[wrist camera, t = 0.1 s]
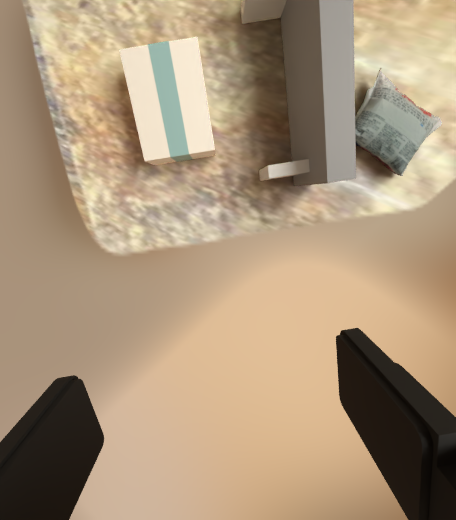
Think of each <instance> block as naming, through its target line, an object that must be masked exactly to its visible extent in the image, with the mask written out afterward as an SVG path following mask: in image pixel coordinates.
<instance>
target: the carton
mask: <svg viewBox="0 0 456 520" xmlns="http://www.w3.org/2000/svg"><path fill="white" fill-rule="evenodd" d="M119 51H120V56H121V60H122V64H123V69H124V73H125V77H126V82H127V86H128V91H129V95H130V99H131V104H132V108H133V113H134V117H135V121H136V126H137V130H138V134H139V139H140V143H141V148H142V152H143V156H144V161H145V162H148V163H150V164H152V165H160V164H166V163H172V162H179V161H185V160H192V159H197V158H203V157H209V156H215V147H214V141H213V134H212V128H211V121H210V115H209V109H208V102H207V96H206V89H205V83H204V76H203V70H202V64H201V57H200V51H199V44H198V38H197V37H192V38H186V39H180V40H174V41H166V42H160V43H154V44H148V45H143V46H137V47H131V48H125V49H119Z"/></svg>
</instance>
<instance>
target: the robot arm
mask: <svg viewBox="0 0 456 520" xmlns="http://www.w3.org/2000/svg"><path fill="white" fill-rule="evenodd" d="M336 346H337V364H338V379H339V380H338V381H339V396H340V401H341V403H342V406H343V408H344V410H345V411H346V413H347V415H348V416H349V418H350V420H351V422H352V423H353V425H354V426H355V428H356V430H357V432H358V434H359V435H360V437H361V439H362V440H363V442H364V444H365V446H366V447H367V449H368V451H369V453H370V454H371V456H372V458H373V460H374V461H375V463H376V465H377V466H378V468H379V470H380V471H381V473H382V475H383V476H384V479H385V480H386V482H387V483H388V485H389V487H390V489H391V490H392V492H393V494H394V496H395V497H396V499H397V501H398V503H399V504H400V506H401V507H402V510H403V511H404V513H405V515H406V516H407V518H408V520H456V417H454V415H453V414H451V413H450V412H449V411H448V410H447V409H446V408H445V407H444V406H443V405H442V404H441V403H440V402H439V401H438V400H437V399H436V398H435V397H434V396H432V395H431V394H430V393H429V392H428V391H427V390H426V389H425V388H424V387H423V386H422V385H421V384H420V383H419V382H418V381H416V379H415V378H413V376H411V375H410V374H409V373H408V372H407V371H406V370H405V369H404V368H403V367H402V366H400V365H399V364H397V363H394V362H393V361H392V360H391V359H390V358H389V357H388V356H387V355H386V354H385V353H384V352H383V351H382V350H381V349H380V348H379V347H378V346H376V345H375V343H373V342H372V341H371V340H370V339H369V338H368V337H367V336H366V335H365V334H364V333H363V332H362V331H361V330H360V329H359V328H355V329H348V330H342V331H341V333H340V335H338V336H336ZM103 443H104V435H103V432H102V429H101V427H100V424H99V422H98V419H97V417H96V414H95V411H94V409H93V406H92V404H91V401H90V398H89V396H88V393H87V391H86V388H85V386H84V383H83V381H82V380H81V379H78V377H77V376H68V377H62V378H58V379H56V380H55V381H54V382H53V383H52V384H51V385H50V386H49V387H48V389H47V390H46V391H45V392H44V393H43V394H42V396H41V397H40V398H39V399H38V400H37V401H36V402H35V404H33V406H32V407H31V408H30V409H29V410H28V411H27V412H26V414H25V415H24V416H23V417H22V418H21V419H20V420H19V422H18V423H17V424H16V425H15V426H14V427H13V428H12V430H11V431H10V432H9V433H8V434H7V435H6V436H5V438H4V439H3V440H2V441H1V442H0V520H69V518H70V516H71V514H72V512H73V510H74V507H75V505H76V503H77V501H78V499H79V496H80V494H81V492H82V490H83V488H84V486H85V483H86V481H87V479H88V476H89V475H90V473H91V471H92V468H93V466H94V464H95V462H96V460H97V457H98V455H99V453H100V451H101V449H102V446H103Z"/></svg>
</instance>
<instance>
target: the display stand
mask: <svg viewBox="0 0 456 520" xmlns="http://www.w3.org/2000/svg"><path fill="white" fill-rule="evenodd" d="M276 18H281V31H282V43H283V56H284V68H285V81H286V93H287V106H288V118H289V131H290V143H291V156H292V162H287V163H280V164H274V165H268V166H266V167H264V168H263V169H261V170H259V176H260V181H264V180H270V179H276V178H282V177H289V176H293V181H294V186H301V185H312V184H323V183H331V182H337V181H344V180H350V179H356V142H355V78H354V15H353V0H242V1H241V19H242V24H246V23H252V22H258V21H264V20H270V19H276Z"/></svg>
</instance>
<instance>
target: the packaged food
mask: <svg viewBox="0 0 456 520" xmlns="http://www.w3.org/2000/svg"><path fill="white" fill-rule="evenodd" d="M381 68H382V67H381ZM381 68H380V70H381ZM380 70H379V73H378V76H377V78H376V81H375V84H374V86H373V88H372V87H371V88H369V89H368V90H367V92H366V95H365V100H364V101H363V104H362V105H361V106H360V108H359V111H358V113H357V115H356V117H355V142H356V145H357V146H359V147H360V148H362V149H364V150H366V151H367V152H370V154H371V155H372V156H373V157H375V158H376V159H377V160H379V161H380V162H381V163H382V164H383V165H384V166H386V167H387V168H388V169H390V170H391V171H392V172H394V173H395V174H397V175H400V176H402V175H403V172H404V171H405V169H406V167H407V165H408V163H409V162H410V160H411V159H412V157H413V155H414V154H415V152H416V151H417V150H418V148H419V147H420V145H421V144H422V143H423V141H424V140H425V138H426V137H428V136H429V135H430V134H431V133H432V132H433V131H435V130H436V129H437V128H438V127H440V126H441V125H442V122H441V120H440V118H439V117H434V115H432V114H431V113H429V112H427V111H426V110H424V109H423V108H420V107H418V106H416V105H415V104H414V102H413V101H412V100H410V99H409V98H408V97H407V96H406V95H405V94H402V93H400V92H399V91H398V89H397V87H396V86H394V84H393V83H392V82H391V81H390V80H389V79H388V78H387V77H386V76H385V75H384V74H383V73H382V72H381V71H380Z"/></svg>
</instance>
